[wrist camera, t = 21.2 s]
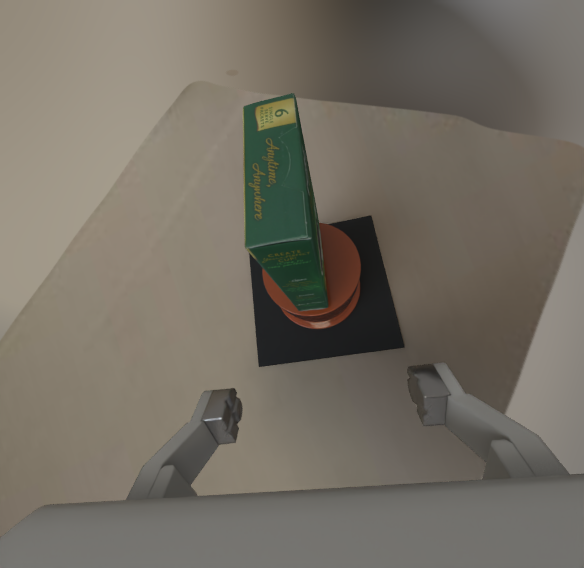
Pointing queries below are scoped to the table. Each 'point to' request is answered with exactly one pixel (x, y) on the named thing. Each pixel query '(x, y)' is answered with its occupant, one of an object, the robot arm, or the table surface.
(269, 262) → the coffee box
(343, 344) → the mat
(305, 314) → the stand
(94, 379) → the table surface
